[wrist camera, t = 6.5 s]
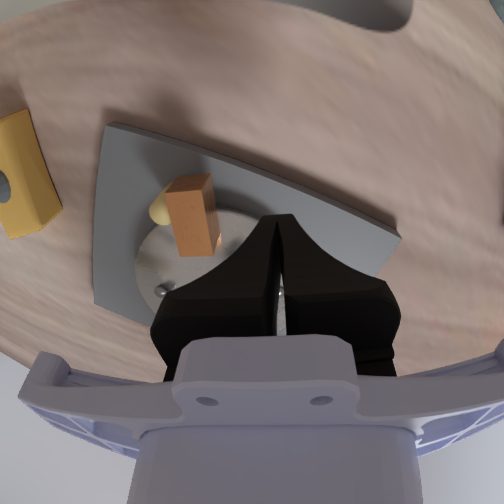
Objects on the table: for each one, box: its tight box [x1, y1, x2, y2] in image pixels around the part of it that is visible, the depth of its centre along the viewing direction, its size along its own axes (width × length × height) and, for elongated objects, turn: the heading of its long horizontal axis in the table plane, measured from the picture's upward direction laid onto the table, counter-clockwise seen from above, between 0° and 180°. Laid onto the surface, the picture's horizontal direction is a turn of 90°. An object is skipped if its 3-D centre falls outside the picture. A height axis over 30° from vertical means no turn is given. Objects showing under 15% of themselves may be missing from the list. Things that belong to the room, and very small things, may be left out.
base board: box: [93, 122, 402, 336], centre depth 21 cm, size 18×22×4 cm
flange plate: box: [135, 173, 286, 332], centre depth 20 cm, size 16×13×4 cm
